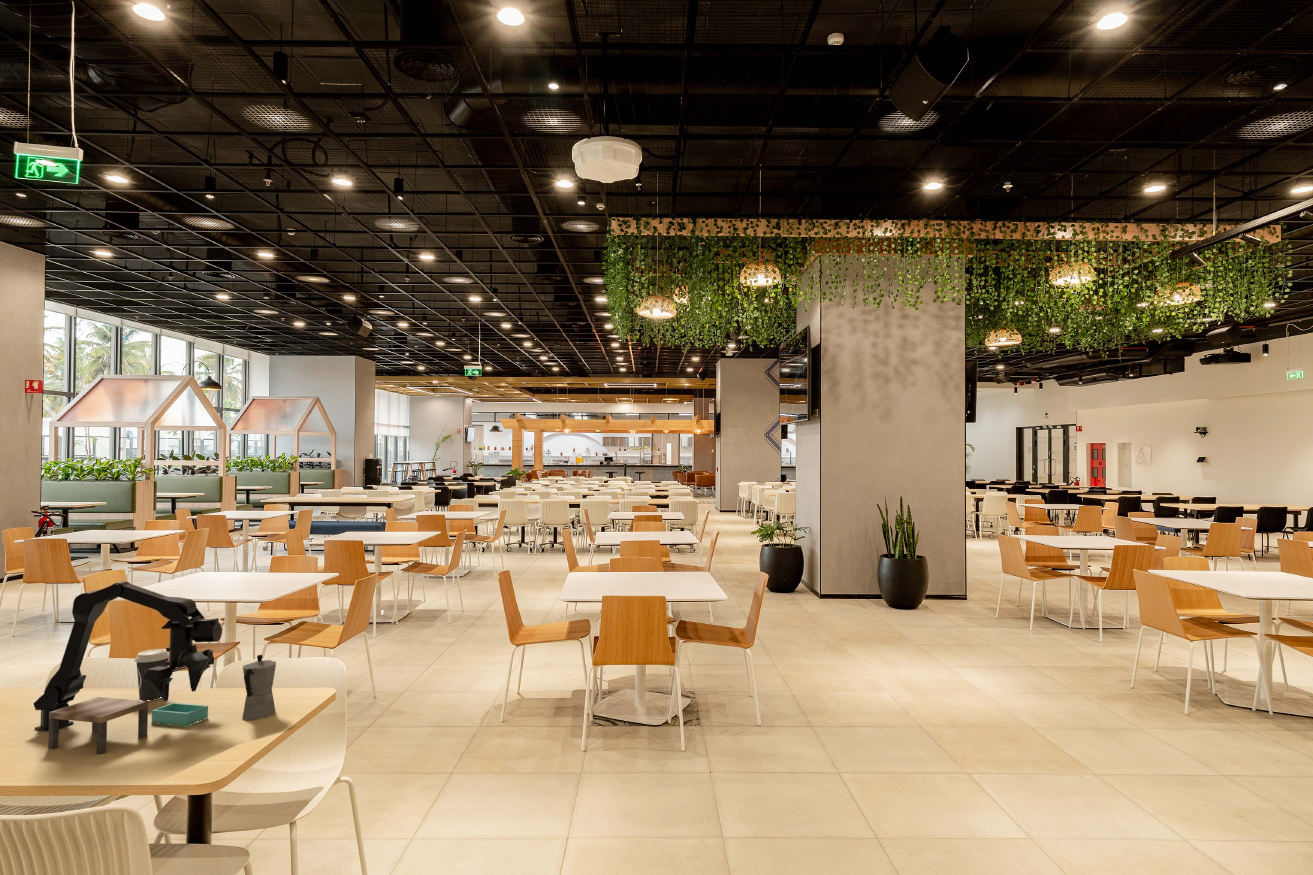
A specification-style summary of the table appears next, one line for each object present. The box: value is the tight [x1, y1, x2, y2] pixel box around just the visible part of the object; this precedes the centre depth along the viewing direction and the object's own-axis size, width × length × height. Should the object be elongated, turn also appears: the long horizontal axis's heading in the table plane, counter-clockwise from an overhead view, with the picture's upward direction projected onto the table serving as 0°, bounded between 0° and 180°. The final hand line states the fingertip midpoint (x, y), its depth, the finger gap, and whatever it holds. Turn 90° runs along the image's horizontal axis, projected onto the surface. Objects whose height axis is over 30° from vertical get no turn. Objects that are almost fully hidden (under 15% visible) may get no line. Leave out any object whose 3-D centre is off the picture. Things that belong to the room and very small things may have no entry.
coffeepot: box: [242, 654, 277, 721], centre depth 213 cm, size 15×9×18 cm, turn 6°
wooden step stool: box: [47, 696, 149, 755], centre depth 194 cm, size 18×13×10 cm
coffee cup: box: [134, 648, 169, 701], centre depth 231 cm, size 10×10×15 cm
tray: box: [151, 702, 209, 727], centre depth 210 cm, size 7×13×4 cm, turn 75°
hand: (180, 695), depth 210 cm, fingers open, 9 cm apart
